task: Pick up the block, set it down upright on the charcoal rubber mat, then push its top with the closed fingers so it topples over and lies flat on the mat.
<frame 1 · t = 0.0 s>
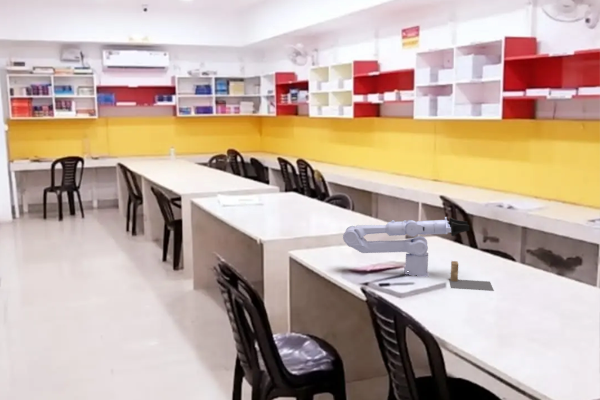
hand: (468, 226, 247), 22 cm above the table, fingers open, 7 cm apart
block: (453, 279, 245), on the table, touching mat
mat: (470, 285, 238), on the table
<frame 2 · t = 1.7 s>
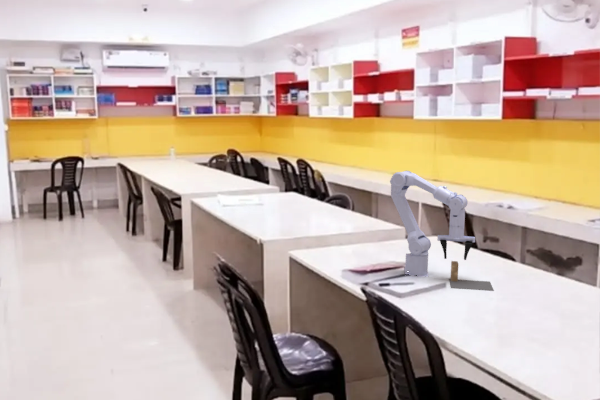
hand: (455, 258, 244), 9 cm above the table, fingers open, 7 cm apart
nothing on the table moved.
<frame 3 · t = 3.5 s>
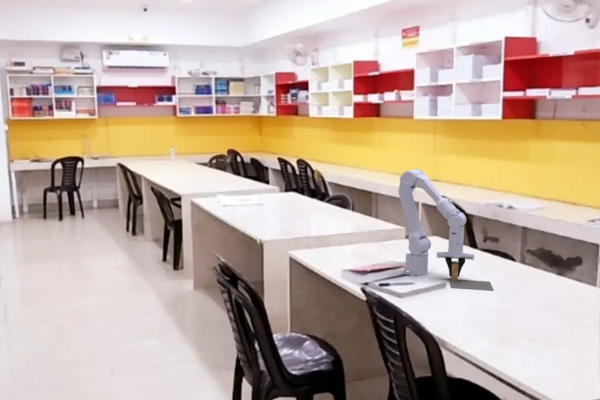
hand: (454, 276, 245), 2 cm above the table, fingers closed on block, 2 cm apart
block: (453, 279, 245), on the table, touching gripper, mat
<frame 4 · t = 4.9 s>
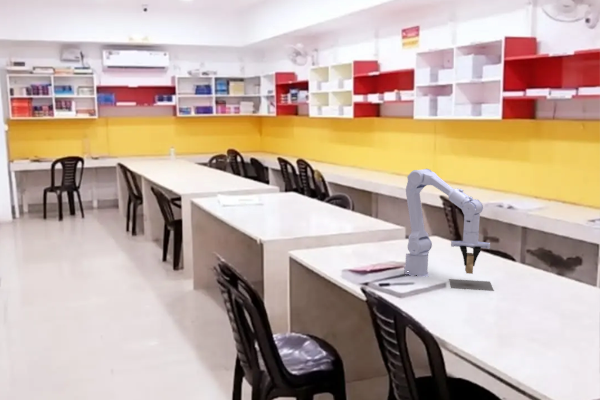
hand: (469, 265, 237), 8 cm above the table, fingers closed on block, 2 cm apart
block: (468, 271, 238), point 6 cm above the table, touching gripper
when the fingers open (3 cm above the table, at t = 6.4 s): block stays where it is, resting on mat.
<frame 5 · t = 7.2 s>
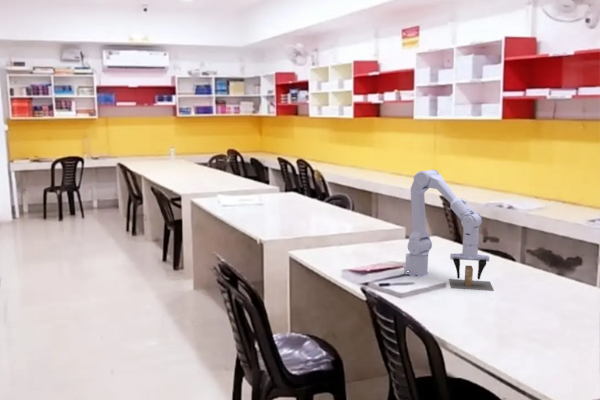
hand: (468, 278, 238), 3 cm above the table, fingers open, 7 cm apart
block: (468, 284, 238), resting on mat
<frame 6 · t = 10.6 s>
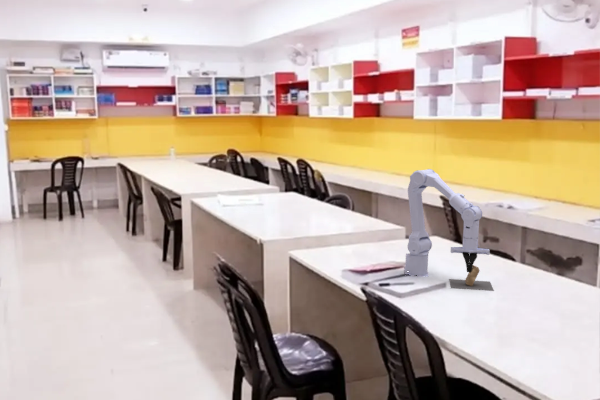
hand: (468, 271, 238), 6 cm above the table, fingers closed
block: (468, 283, 238), point 1 cm above the table, tilted 21°, touching mat
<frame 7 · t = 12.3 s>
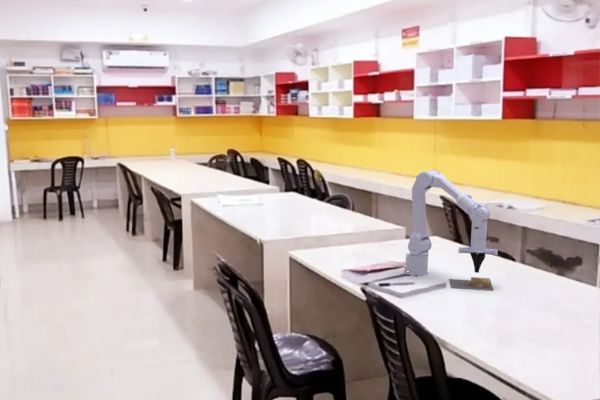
hand: (476, 271, 237), 6 cm above the table, fingers closed
block: (471, 281, 238), point 2 cm above the table, tilted 90°, touching mat
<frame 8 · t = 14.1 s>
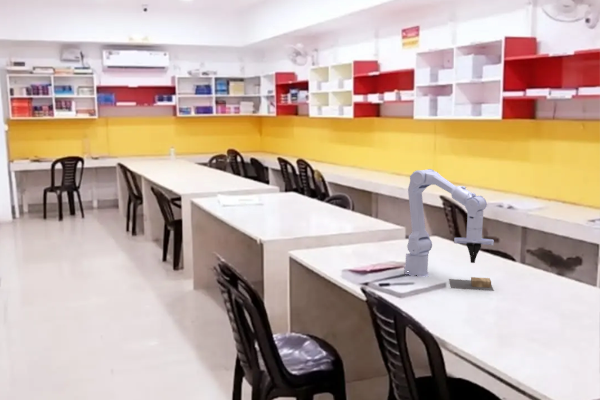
hand: (472, 262, 235), 10 cm above the table, fingers closed
nothing on the table moved.
at the end: block tilted 90°; block inside the target area (1.7 cm from its centre), point 1.6 cm above the table; the gripper is holding nothing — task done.
